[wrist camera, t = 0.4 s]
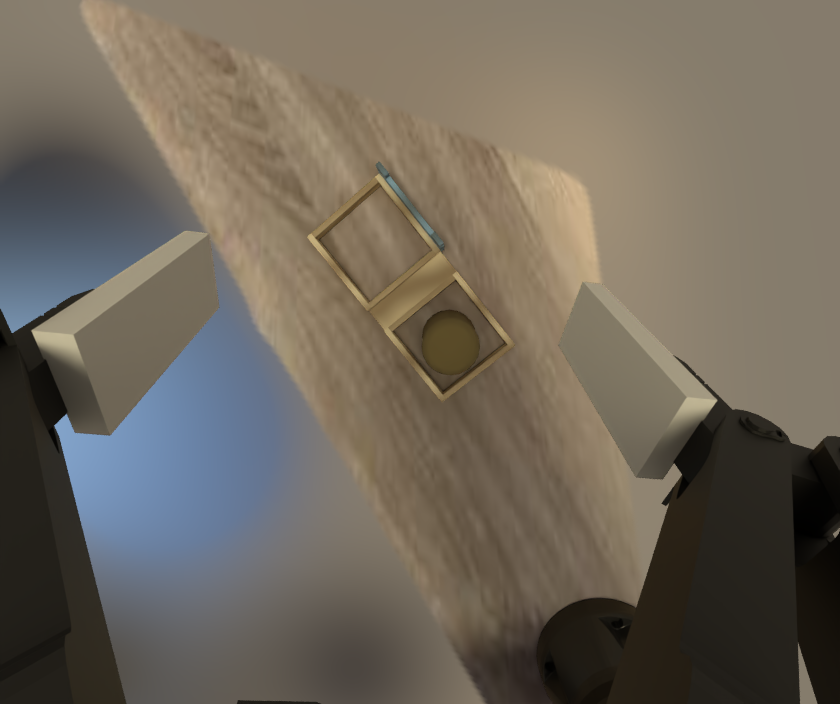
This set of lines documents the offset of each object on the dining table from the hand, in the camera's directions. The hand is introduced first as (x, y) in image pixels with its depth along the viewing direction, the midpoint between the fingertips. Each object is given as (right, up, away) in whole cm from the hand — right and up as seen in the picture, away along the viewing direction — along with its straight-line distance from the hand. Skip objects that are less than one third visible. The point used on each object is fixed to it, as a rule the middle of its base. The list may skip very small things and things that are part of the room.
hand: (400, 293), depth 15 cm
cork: (+4, 0, +32) cm, 32 cm away
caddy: (0, +5, +31) cm, 31 cm away
